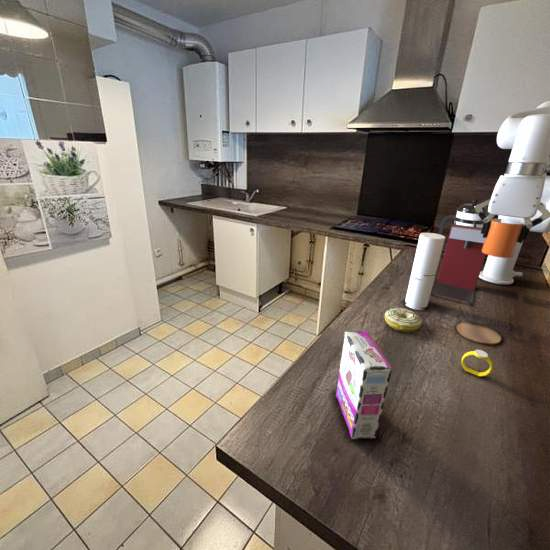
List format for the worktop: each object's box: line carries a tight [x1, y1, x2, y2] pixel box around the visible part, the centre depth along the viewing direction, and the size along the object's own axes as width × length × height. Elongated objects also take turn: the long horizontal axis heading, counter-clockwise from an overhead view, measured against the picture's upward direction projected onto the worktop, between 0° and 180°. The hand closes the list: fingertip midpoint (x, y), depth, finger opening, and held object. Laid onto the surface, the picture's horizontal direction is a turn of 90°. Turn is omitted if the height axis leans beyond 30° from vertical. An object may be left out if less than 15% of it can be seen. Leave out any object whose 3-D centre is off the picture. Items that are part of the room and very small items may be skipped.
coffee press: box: [437, 198, 489, 258], centre depth 143 cm, size 17×16×30 cm
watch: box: [461, 349, 493, 377], centre depth 69 cm, size 6×3×6 cm, turn 53°
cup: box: [481, 218, 524, 258], centre depth 79 cm, size 7×7×9 cm
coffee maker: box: [431, 223, 487, 304], centre depth 108 cm, size 18×13×24 cm
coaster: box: [456, 321, 502, 346], centre depth 86 cm, size 11×11×1 cm
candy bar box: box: [335, 330, 393, 440], centre depth 55 cm, size 11×5×16 cm, turn 5°
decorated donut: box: [384, 307, 423, 333], centre depth 89 cm, size 10×11×4 cm
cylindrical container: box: [404, 232, 446, 311], centre depth 97 cm, size 7×7×25 cm
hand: (501, 238), depth 79 cm, fingers closed on cup, 7 cm apart
